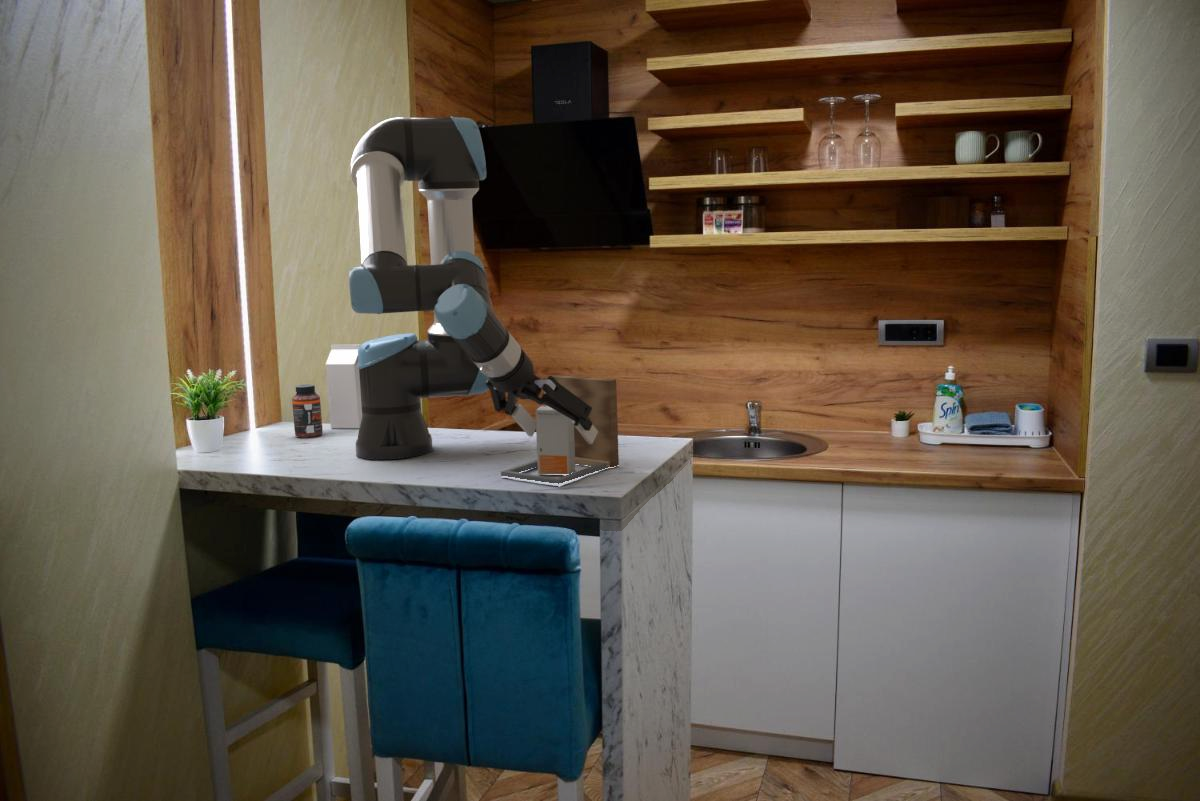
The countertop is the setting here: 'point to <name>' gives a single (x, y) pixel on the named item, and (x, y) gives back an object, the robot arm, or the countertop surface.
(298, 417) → the supplement bottle
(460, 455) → the countertop surface
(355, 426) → the milk carton
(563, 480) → the grey rectangular frame
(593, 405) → the wall board
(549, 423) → the skincare box
